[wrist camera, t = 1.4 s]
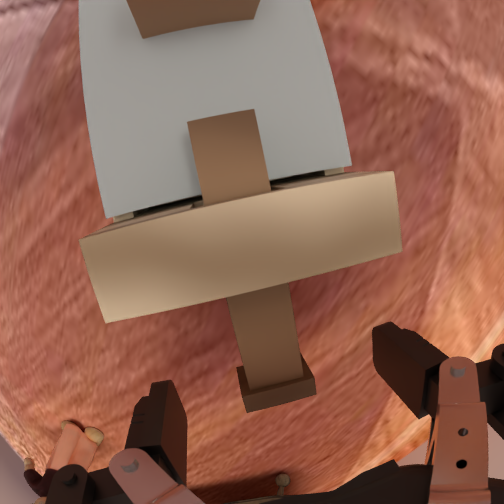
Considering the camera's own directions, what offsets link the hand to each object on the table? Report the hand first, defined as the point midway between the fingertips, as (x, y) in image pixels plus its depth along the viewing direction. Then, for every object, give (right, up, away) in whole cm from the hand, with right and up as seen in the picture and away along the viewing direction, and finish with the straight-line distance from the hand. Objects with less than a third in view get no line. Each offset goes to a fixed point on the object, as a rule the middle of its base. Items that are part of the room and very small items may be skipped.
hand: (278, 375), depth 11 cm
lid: (-3, +14, +1) cm, 14 cm away
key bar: (-1, +4, +2) cm, 5 cm away
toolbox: (-4, +14, +8) cm, 16 cm away
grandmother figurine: (-18, -13, +12) cm, 25 cm away
